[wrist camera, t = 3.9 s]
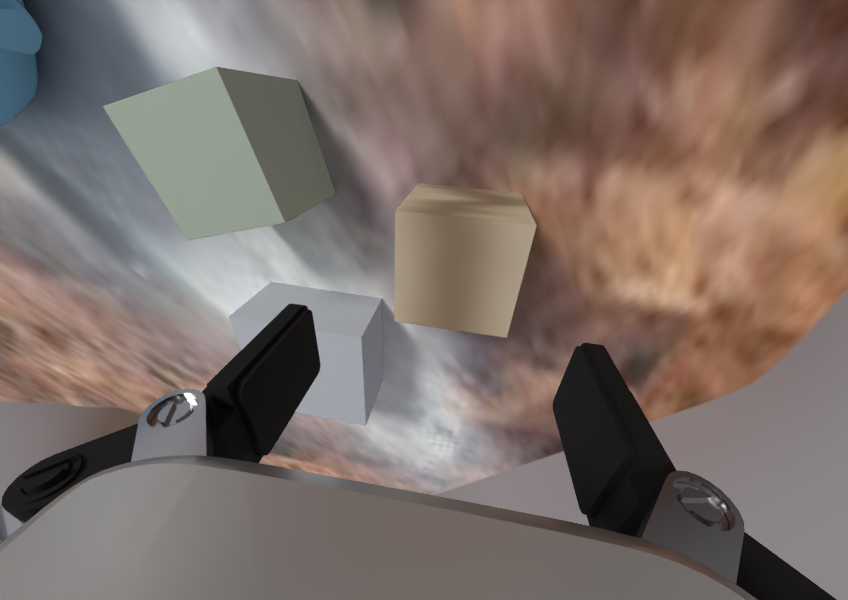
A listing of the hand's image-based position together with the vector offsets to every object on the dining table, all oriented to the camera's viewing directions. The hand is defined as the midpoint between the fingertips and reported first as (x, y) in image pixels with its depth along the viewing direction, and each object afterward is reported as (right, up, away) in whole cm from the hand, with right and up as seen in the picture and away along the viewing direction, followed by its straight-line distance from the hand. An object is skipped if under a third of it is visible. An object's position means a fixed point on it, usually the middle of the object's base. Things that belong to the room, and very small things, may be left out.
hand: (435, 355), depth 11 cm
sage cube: (-10, +11, +8) cm, 16 cm away
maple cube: (+2, +6, +9) cm, 11 cm away
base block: (-8, -1, +15) cm, 17 cm away
